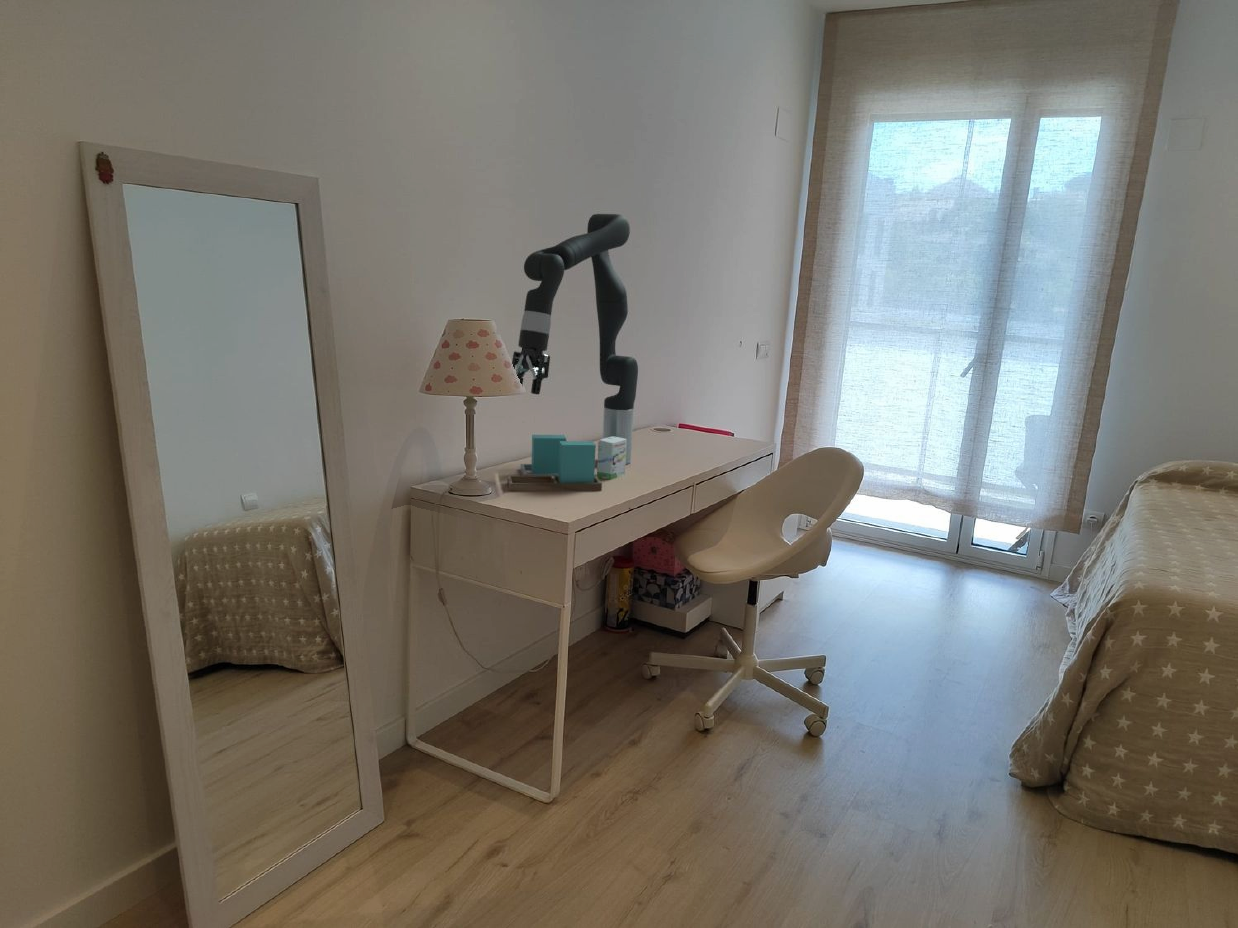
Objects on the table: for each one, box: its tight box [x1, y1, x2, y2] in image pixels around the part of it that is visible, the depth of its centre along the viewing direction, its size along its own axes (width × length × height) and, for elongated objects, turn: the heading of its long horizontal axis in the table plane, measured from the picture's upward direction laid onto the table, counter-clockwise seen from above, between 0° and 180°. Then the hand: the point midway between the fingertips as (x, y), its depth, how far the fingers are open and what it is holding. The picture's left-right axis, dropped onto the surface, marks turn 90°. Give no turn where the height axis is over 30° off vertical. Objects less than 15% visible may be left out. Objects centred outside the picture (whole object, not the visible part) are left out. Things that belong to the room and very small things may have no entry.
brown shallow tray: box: [506, 474, 603, 492], centre depth 215 cm, size 9×24×3 cm, turn 102°
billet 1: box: [530, 434, 567, 474], centre depth 227 cm, size 5×9×12 cm, turn 102°
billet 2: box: [558, 440, 597, 483], centre depth 215 cm, size 5×9×12 cm, turn 102°
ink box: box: [596, 436, 627, 481], centre depth 229 cm, size 8×5×12 cm, turn 150°
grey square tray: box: [519, 463, 558, 476], centre depth 228 cm, size 13×15×2 cm
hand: (526, 392), depth 209 cm, fingers open, 8 cm apart
